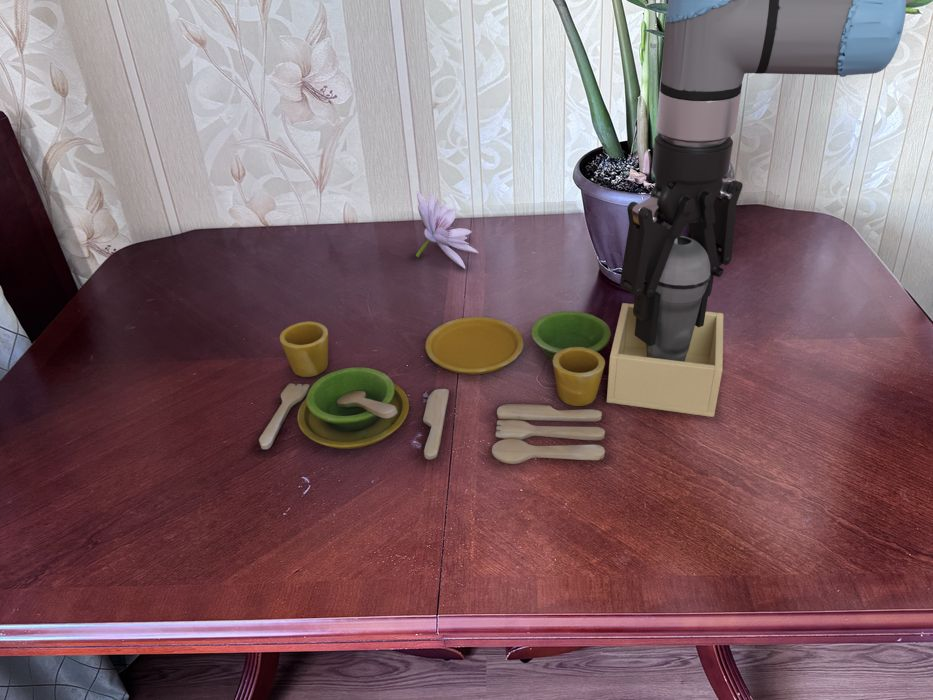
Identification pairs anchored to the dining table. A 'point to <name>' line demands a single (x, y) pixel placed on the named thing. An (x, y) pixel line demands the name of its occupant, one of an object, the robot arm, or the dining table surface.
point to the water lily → (442, 228)
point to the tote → (667, 369)
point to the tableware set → (461, 351)
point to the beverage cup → (680, 299)
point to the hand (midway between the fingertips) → (669, 330)
